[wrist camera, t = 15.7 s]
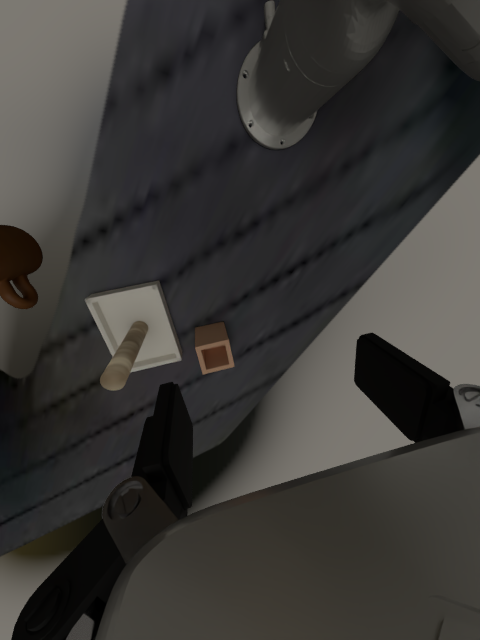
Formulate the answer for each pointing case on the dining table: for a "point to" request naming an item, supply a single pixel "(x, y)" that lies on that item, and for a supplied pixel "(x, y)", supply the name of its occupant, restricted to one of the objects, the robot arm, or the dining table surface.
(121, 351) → the beech dowel
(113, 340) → the plastic tray
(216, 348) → the terracotta cup
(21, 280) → the mug
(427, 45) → the dining table surface
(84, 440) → the dining table surface
